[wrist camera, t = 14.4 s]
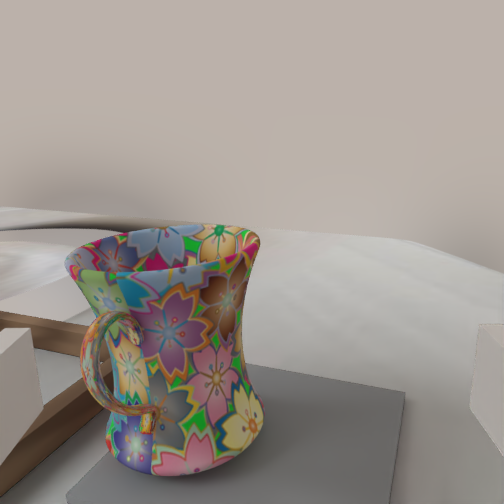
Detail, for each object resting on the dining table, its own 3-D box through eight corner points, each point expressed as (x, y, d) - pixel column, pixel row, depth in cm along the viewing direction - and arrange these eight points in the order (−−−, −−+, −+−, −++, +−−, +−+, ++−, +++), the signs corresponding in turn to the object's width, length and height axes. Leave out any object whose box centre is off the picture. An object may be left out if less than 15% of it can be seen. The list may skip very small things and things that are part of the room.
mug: (149, 381, 31) (127, 225, 28) (287, 392, 29) (277, 222, 26) (22, 529, 20) (-35, 295, 17) (229, 567, 18) (201, 301, 15)
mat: (67, 503, 22) (65, 494, 22) (204, 361, 34) (204, 355, 34) (373, 610, 17) (373, 600, 17) (404, 399, 29) (405, 392, 29)
